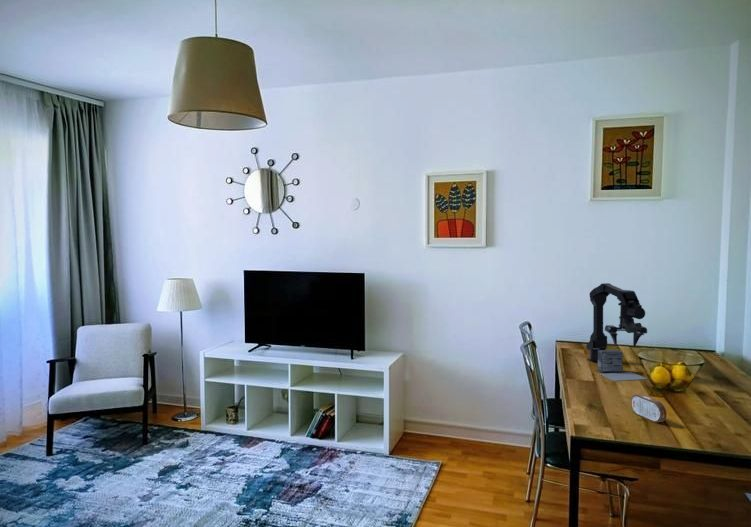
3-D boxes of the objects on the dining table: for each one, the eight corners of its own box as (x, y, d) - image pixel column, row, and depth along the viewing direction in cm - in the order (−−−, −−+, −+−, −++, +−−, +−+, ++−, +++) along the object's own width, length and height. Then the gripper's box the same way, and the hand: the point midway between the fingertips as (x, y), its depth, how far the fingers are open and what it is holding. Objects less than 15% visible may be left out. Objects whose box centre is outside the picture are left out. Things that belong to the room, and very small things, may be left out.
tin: (666, 425, 188) (667, 402, 187) (660, 426, 187) (660, 403, 186) (635, 411, 202) (636, 390, 202) (628, 412, 201) (629, 391, 201)
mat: (598, 374, 255) (599, 373, 255) (630, 372, 258) (630, 372, 258) (614, 381, 243) (614, 380, 243) (647, 379, 246) (647, 378, 246)
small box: (618, 369, 263) (618, 349, 263) (623, 372, 257) (623, 352, 256) (597, 369, 264) (597, 349, 264) (601, 372, 258) (601, 351, 257)
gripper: (613, 318, 248) (612, 349, 249) (653, 318, 247) (651, 350, 248) (605, 314, 259) (603, 344, 260) (642, 314, 258) (641, 345, 259)
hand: (625, 346), depth 256 cm, fingers open, 9 cm apart
